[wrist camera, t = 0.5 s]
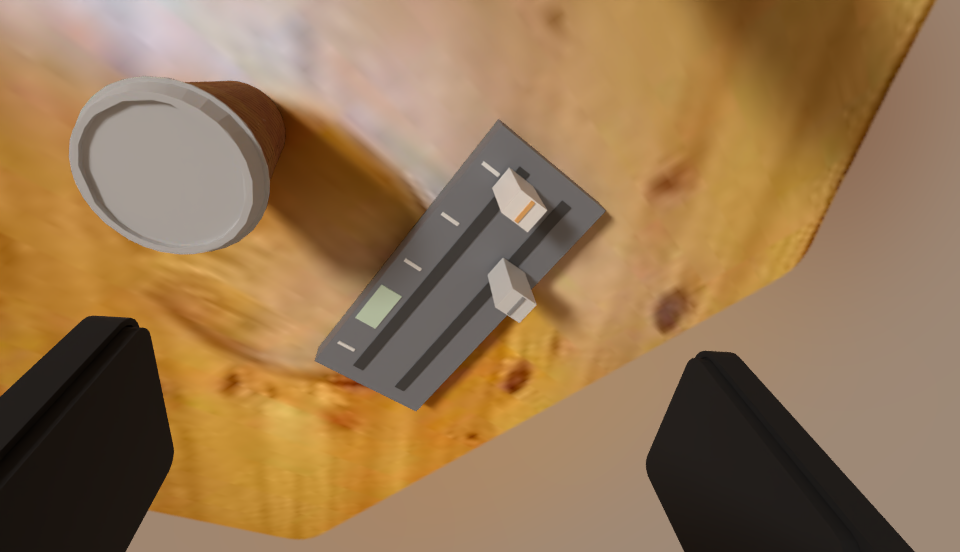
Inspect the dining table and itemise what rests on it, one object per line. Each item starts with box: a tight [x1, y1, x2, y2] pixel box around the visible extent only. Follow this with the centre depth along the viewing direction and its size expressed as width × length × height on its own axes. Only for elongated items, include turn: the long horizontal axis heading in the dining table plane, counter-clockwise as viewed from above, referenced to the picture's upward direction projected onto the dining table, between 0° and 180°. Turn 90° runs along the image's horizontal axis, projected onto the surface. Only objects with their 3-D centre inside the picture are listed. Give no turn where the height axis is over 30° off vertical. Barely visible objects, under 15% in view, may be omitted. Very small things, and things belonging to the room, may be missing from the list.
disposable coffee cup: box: [69, 76, 286, 254], centre depth 30 cm, size 10×10×12 cm
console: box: [315, 119, 605, 411], centre depth 42 cm, size 26×11×2 cm, turn 141°
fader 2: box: [488, 258, 537, 323], centre depth 39 cm, size 2×2×5 cm
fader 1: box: [492, 168, 547, 232], centre depth 35 cm, size 2×2×5 cm
